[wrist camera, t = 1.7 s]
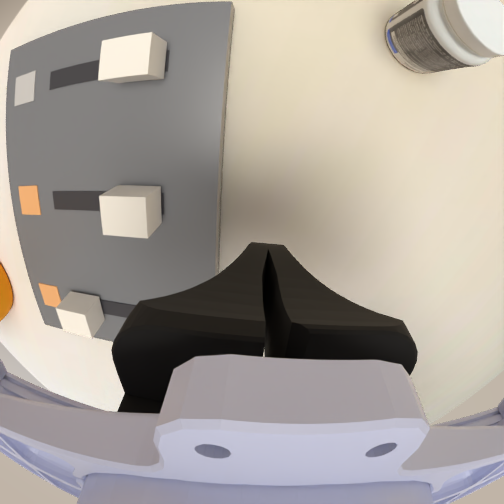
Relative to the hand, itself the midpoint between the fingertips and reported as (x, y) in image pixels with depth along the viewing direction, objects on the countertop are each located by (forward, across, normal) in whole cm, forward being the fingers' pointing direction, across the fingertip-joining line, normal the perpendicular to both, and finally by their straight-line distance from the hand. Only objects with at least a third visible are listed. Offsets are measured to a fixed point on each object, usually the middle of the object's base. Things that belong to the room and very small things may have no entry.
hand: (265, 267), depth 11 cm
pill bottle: (+9, -9, -13) cm, 18 cm away
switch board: (+9, +12, 0) cm, 15 cm away
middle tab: (+7, +8, 0) cm, 11 cm away
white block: (+7, +14, +9) cm, 18 cm away
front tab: (+7, +8, -9) cm, 14 cm away
